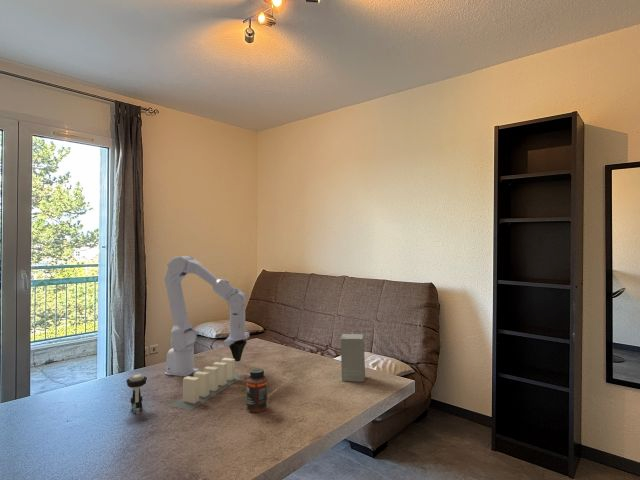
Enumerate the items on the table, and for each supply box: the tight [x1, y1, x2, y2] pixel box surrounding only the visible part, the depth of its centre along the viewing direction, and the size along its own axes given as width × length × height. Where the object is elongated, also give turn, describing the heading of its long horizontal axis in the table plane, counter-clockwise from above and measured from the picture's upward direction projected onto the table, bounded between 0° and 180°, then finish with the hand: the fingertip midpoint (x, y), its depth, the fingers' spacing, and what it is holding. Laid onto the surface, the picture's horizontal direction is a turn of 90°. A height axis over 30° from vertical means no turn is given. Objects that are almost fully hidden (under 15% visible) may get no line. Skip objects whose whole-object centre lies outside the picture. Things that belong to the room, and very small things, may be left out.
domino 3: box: [203, 365, 219, 391], centre depth 121 cm, size 4×2×7 cm, turn 71°
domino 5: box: [220, 357, 236, 381], centre depth 130 cm, size 4×2×7 cm, turn 71°
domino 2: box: [193, 370, 209, 397], centre depth 116 cm, size 4×2×7 cm, turn 71°
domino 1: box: [182, 375, 199, 403], centre depth 111 cm, size 4×2×7 cm, turn 71°
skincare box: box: [340, 333, 366, 383], centre depth 132 cm, size 8×7×16 cm
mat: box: [169, 373, 245, 411], centre depth 120 cm, size 8×30×1 cm, turn 161°
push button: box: [126, 373, 148, 415], centre depth 105 cm, size 7×5×10 cm
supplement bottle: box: [246, 367, 268, 413], centre depth 107 cm, size 6×6×11 cm
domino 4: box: [212, 361, 227, 386], centre depth 125 cm, size 4×2×7 cm, turn 71°
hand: (237, 360), depth 136 cm, fingers closed
